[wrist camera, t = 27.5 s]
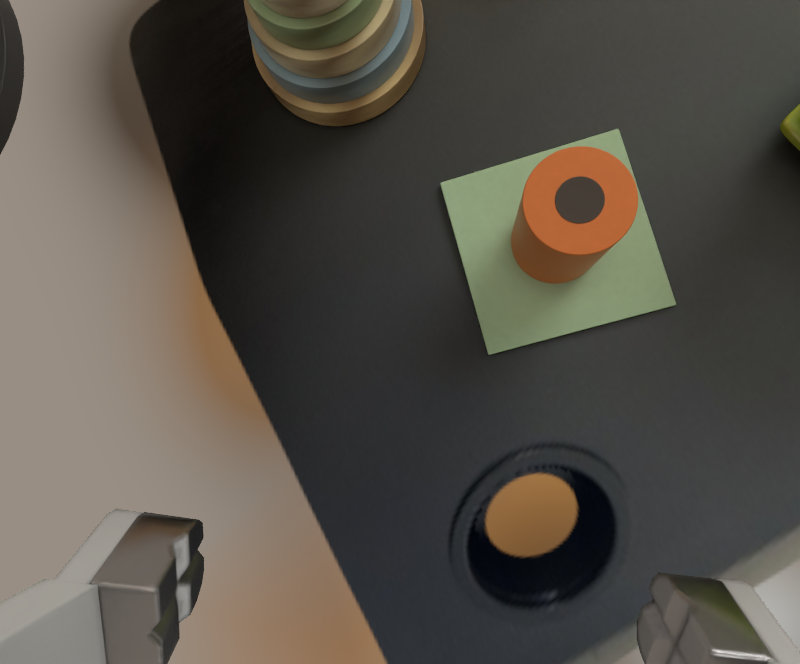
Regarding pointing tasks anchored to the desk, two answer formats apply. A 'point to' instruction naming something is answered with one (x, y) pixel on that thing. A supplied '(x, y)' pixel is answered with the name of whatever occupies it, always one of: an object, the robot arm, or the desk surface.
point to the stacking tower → (337, 54)
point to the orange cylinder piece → (572, 213)
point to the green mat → (535, 300)
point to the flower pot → (792, 127)
